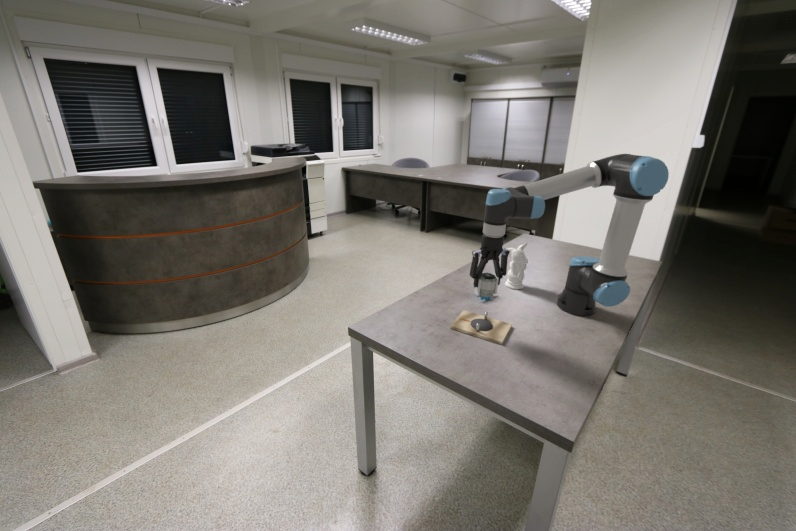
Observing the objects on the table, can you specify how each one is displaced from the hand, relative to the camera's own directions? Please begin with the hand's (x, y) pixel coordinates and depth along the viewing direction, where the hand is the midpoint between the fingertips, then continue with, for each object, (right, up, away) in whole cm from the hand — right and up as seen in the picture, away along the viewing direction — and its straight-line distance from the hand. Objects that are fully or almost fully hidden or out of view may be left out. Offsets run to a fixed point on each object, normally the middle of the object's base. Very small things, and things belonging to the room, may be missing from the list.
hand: (485, 293), depth 131 cm
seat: (0, -13, +5) cm, 14 cm away
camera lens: (0, 0, 0) cm, 1 cm away
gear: (+6, -4, +30) cm, 30 cm away
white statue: (+23, +1, +42) cm, 48 cm away
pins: (0, -13, +5) cm, 14 cm away
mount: (0, -14, +6) cm, 15 cm away
